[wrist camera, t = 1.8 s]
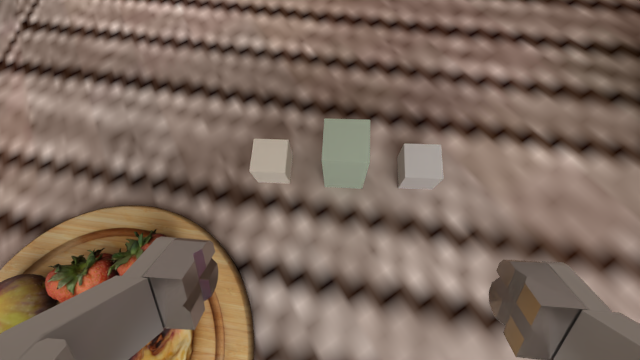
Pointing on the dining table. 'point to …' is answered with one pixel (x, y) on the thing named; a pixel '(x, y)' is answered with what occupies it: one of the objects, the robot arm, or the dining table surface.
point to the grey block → (420, 166)
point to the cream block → (271, 160)
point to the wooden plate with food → (114, 260)
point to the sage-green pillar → (345, 152)
